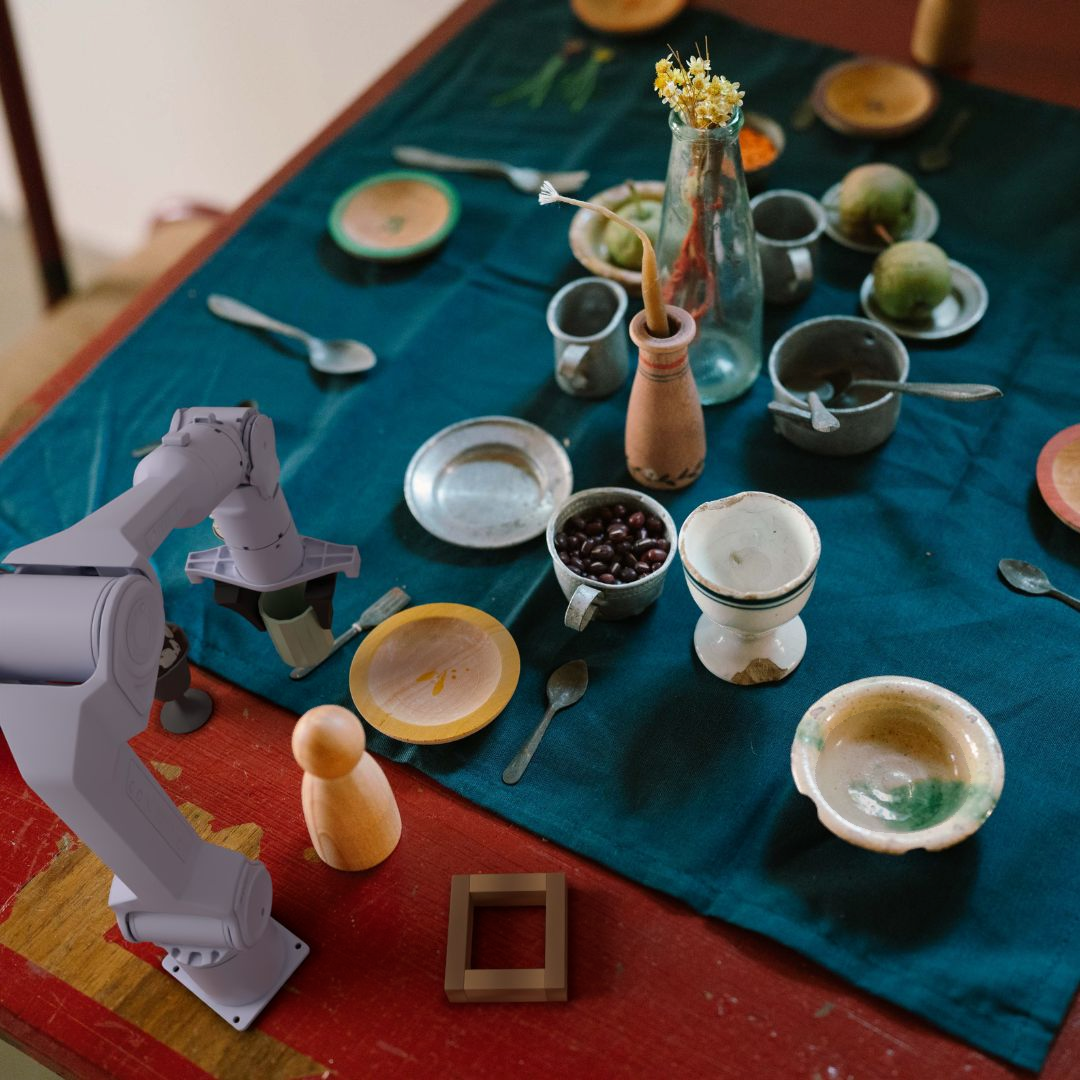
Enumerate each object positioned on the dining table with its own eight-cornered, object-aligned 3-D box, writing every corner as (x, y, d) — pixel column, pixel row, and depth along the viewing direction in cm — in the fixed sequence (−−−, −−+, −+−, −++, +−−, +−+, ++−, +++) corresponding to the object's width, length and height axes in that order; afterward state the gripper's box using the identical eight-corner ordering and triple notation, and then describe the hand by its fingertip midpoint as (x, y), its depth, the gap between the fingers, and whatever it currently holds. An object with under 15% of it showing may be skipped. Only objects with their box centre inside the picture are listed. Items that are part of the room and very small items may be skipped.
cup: (266, 652, 108) (245, 606, 103) (305, 612, 110) (287, 566, 105) (307, 677, 106) (287, 633, 100) (346, 637, 108) (329, 591, 103)
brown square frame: (449, 1002, 91) (444, 989, 89) (457, 889, 97) (451, 874, 95) (567, 1001, 90) (564, 988, 88) (567, 887, 96) (565, 872, 94)
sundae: (190, 669, 114) (137, 575, 102) (235, 705, 111) (185, 611, 99) (137, 717, 111) (75, 624, 99) (181, 754, 108) (123, 663, 96)
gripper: (350, 483, 97) (380, 583, 107) (180, 491, 98) (226, 589, 108) (339, 549, 92) (372, 646, 103) (161, 556, 93) (212, 652, 104)
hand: (297, 621), depth 105 cm, fingers closed on cup, 5 cm apart
